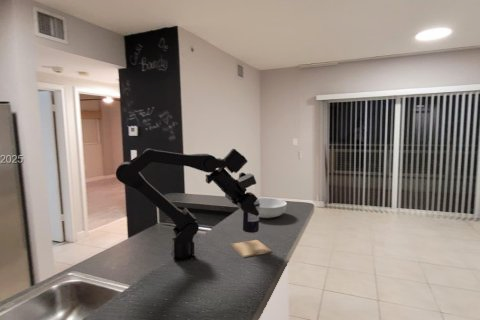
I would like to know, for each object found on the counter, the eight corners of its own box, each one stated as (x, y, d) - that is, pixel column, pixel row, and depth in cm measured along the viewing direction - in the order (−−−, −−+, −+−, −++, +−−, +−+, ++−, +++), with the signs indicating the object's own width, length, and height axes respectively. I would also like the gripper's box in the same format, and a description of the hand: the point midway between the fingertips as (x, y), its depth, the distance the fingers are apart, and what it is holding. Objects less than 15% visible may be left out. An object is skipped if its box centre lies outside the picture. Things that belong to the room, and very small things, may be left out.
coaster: (243, 257, 98) (243, 255, 98) (230, 245, 108) (230, 244, 108) (271, 252, 103) (271, 250, 103) (256, 241, 113) (256, 239, 113)
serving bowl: (285, 210, 157) (285, 198, 156) (287, 223, 136) (288, 208, 135) (246, 209, 159) (246, 196, 158) (242, 221, 138) (243, 206, 137)
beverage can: (260, 231, 107) (261, 198, 106) (256, 236, 102) (257, 202, 101) (245, 228, 109) (246, 197, 108) (240, 233, 104) (241, 200, 102)
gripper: (252, 169, 93) (282, 202, 98) (234, 163, 111) (259, 191, 115) (228, 195, 91) (259, 227, 96) (213, 184, 109) (240, 211, 113)
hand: (254, 212), depth 105 cm, fingers closed on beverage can, 6 cm apart
